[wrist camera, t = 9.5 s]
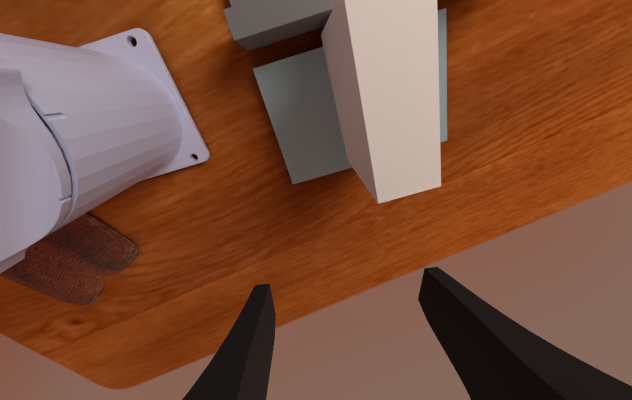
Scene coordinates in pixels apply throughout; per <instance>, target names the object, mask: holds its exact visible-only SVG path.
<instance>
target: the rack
mask: <svg viewBox="0 0 632 400" xmlns="http://www.w3.org/2000/svg"><path fill="white" fill-rule="evenodd" d="M229 1H230V4H231V7H230V8H227V9H224V10H223V11H224V14H225V17H226V19H227V22H228V25H229V28H230V30H231V33H232V36H233V39H234V41H235V42H237V43H238V44H239V45H240V46H242V47H243V48H244V49H246V50H247V51H251V50H254V49H257V48H261V47H264V46H267V45H270V44H273V43H276V42H279V41H283V40H286V39H289V38H292V37H295V36H298V35H301V34H304V33H308V32H311V31H314V30H317V29H320V28H323V27H325V25H326V23H327V21H328V18H329V16H330V14H331V12H332V10H333V7H334V5H335V3H336V1H337V0H229Z"/></svg>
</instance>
